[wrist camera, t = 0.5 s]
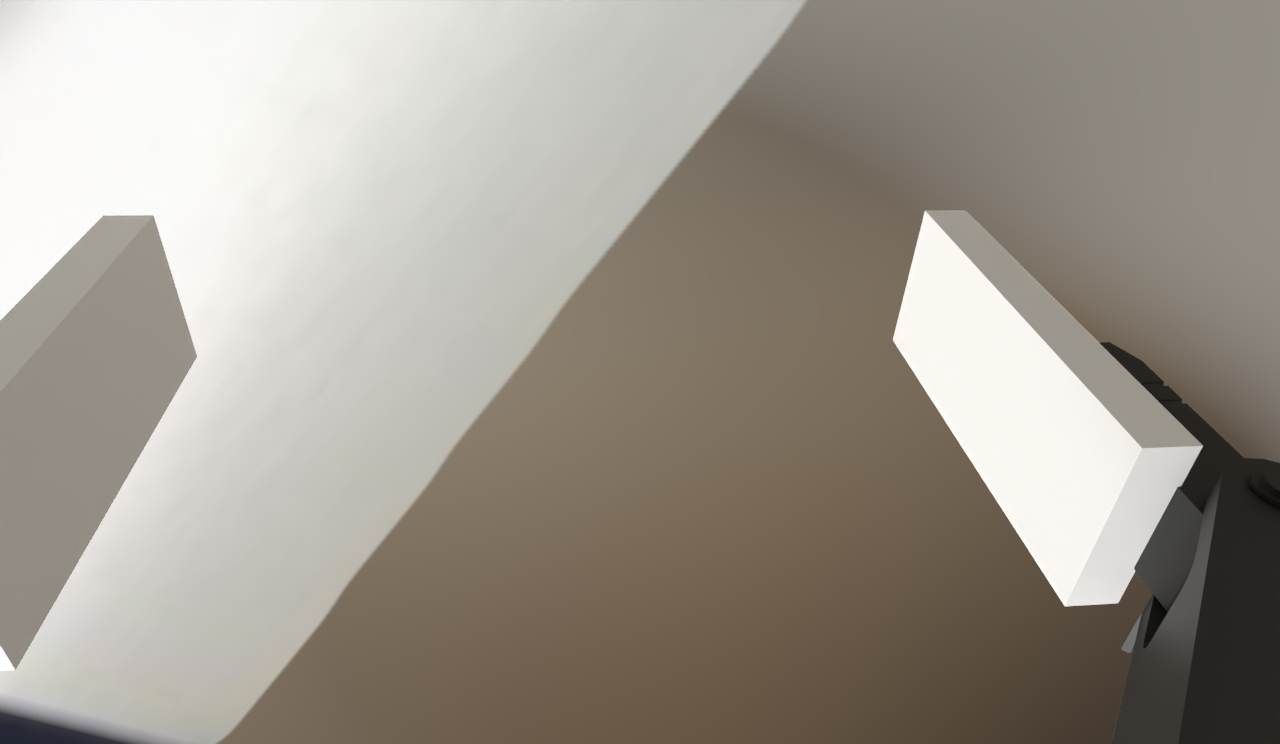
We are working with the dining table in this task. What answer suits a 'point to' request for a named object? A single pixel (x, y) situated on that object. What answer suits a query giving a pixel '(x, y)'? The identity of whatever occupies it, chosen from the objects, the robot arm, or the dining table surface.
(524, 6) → the dining table surface
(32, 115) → the dining table surface
